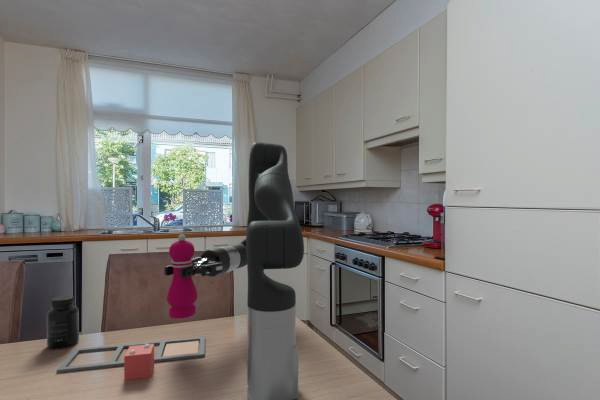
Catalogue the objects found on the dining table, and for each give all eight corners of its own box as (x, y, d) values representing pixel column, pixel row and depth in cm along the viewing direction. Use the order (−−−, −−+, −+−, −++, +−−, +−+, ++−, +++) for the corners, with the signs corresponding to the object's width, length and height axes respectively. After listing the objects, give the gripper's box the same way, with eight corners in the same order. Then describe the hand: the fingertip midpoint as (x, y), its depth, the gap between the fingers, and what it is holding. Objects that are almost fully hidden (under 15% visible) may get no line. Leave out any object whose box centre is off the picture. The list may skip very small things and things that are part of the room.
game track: (204, 338, 92) (204, 336, 92) (204, 356, 82) (204, 354, 82) (75, 351, 85) (75, 348, 85) (56, 372, 74) (56, 370, 74)
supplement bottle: (52, 340, 91) (52, 295, 91) (82, 337, 93) (82, 293, 93) (41, 351, 85) (41, 302, 85) (74, 347, 87) (74, 300, 87)
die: (154, 366, 77) (154, 341, 77) (150, 377, 72) (150, 350, 72) (129, 368, 76) (129, 343, 76) (124, 380, 71) (124, 353, 71)
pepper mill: (188, 320, 82) (187, 236, 81) (160, 318, 83) (160, 235, 83) (202, 310, 89) (202, 232, 89) (177, 308, 90) (176, 232, 90)
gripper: (202, 245, 102) (153, 254, 87) (240, 249, 95) (194, 259, 80) (202, 271, 102) (153, 284, 87) (241, 276, 95) (195, 291, 80)
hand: (173, 272), depth 84 cm, fingers closed on pepper mill, 4 cm apart
